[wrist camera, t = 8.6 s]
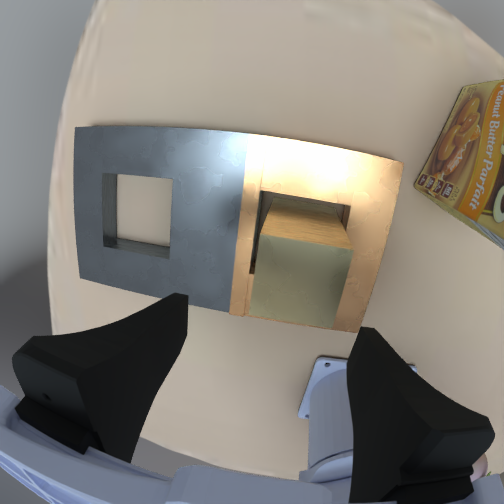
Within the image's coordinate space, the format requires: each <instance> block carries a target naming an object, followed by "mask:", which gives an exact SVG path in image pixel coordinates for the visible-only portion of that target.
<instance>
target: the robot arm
mask: <svg viewBox="0 0 504 504" xmlns="http://www.w3.org/2000/svg"><path fill="white" fill-rule="evenodd" d="M188 298H189V295H185V294H180V293H176V292H175V293H172V294H170V295H169V296H167V297H165V298H163V299H161V300H160V301H158V302H156V303H154V304H152V305H150V306H148V307H147V308H145V309H143V310H141V311H139V312H137V313H134V314H132V315H130V316H128V317H126V318H124V319H121V320H119V321H116V322H114V323H111V324H108V325H105V326H102V327H98V328H94V329H90V330H86V331H82V332H76V333H70V334H63V335H51V336H33V337H32V338H31V339H30V340H28V341H27V342H26V343H25V344H24V345H23V346H22V347H21V348H20V349H19V350H18V351H17V352H16V353H15V354H14V355H13V357H12V363H13V369H14V372H15V374H16V376H17V379H18V381H19V383H20V385H21V388H22V390H23V392H24V394H25V397H24V398H23V399H22V400H21V401H20V399H19V398H18V397H17V396H16V395H15V394H13V393H12V392H10V391H9V390H7V389H6V388H5V387H3V386H2V385H0V467H2V468H3V469H4V470H5V471H7V472H8V473H9V474H11V475H12V476H13V477H14V478H16V479H17V480H18V481H20V482H21V483H22V484H24V485H25V486H26V487H28V488H29V489H30V490H32V491H33V492H35V493H36V494H37V495H39V496H40V497H42V498H43V499H45V500H46V501H48V502H49V503H51V504H504V488H503V485H502V482H501V479H500V476H499V474H493V475H489V476H486V477H482V478H479V479H476V480H474V481H473V482H471V478H470V476H471V475H472V474H473V473H474V469H473V466H472V465H473V464H474V463H475V462H476V461H477V460H478V459H479V458H480V457H481V456H482V455H483V454H484V453H485V452H486V451H487V449H488V448H489V447H490V446H491V444H492V442H493V440H494V438H495V432H494V430H493V428H492V425H491V423H490V421H489V419H488V417H486V416H484V415H481V414H479V413H477V412H474V411H472V410H470V409H468V408H466V407H464V406H462V405H460V404H458V403H456V402H455V401H453V400H451V399H450V398H448V397H446V396H445V395H444V394H442V393H441V392H439V391H438V390H436V389H435V388H434V387H432V386H431V385H430V384H429V383H427V382H426V381H425V380H424V379H422V378H421V377H420V376H419V375H418V374H417V373H416V372H417V368H416V367H415V366H410V365H408V364H407V363H406V362H405V361H404V360H403V359H402V358H401V357H400V356H399V355H398V354H397V353H396V352H395V350H394V349H393V348H392V347H391V346H390V345H389V344H388V342H387V341H386V340H385V339H384V338H383V337H382V336H381V335H380V333H379V332H378V331H377V330H376V329H375V328H369V327H362V326H361V327H360V330H359V333H358V335H357V338H356V341H355V343H354V346H353V348H352V351H351V353H350V356H349V358H348V360H343V359H335V358H327V357H320V358H318V359H317V360H316V362H315V365H314V368H313V371H312V374H311V377H310V380H309V383H308V386H307V388H306V391H305V394H304V397H303V400H302V402H301V405H300V408H299V411H298V417H300V418H304V419H309V448H308V470H305V471H300V472H299V480H289V479H280V478H273V477H265V476H259V475H253V474H247V473H241V472H235V471H231V470H226V469H221V468H216V467H211V466H203V465H190V466H183V467H180V468H178V470H177V471H176V473H175V475H174V477H173V478H171V477H168V476H164V475H161V474H158V473H155V472H152V471H149V470H146V469H143V468H141V467H138V466H135V465H132V464H130V463H131V460H132V456H133V453H134V450H135V447H136V444H137V441H138V439H139V436H140V433H141V430H142V428H143V425H144V422H145V420H146V417H147V415H148V412H149V410H150V407H151V405H152V403H153V400H154V398H155V396H156V394H157V392H158V390H159V388H160V387H161V385H162V383H163V382H164V380H165V378H166V376H167V375H168V373H169V371H170V370H171V368H172V366H173V364H174V363H175V361H176V359H177V357H178V356H179V354H180V352H181V349H182V347H183V344H184V342H185V339H186V337H187V326H188ZM325 363H329V364H325ZM308 414H309V415H308Z"/></svg>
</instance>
